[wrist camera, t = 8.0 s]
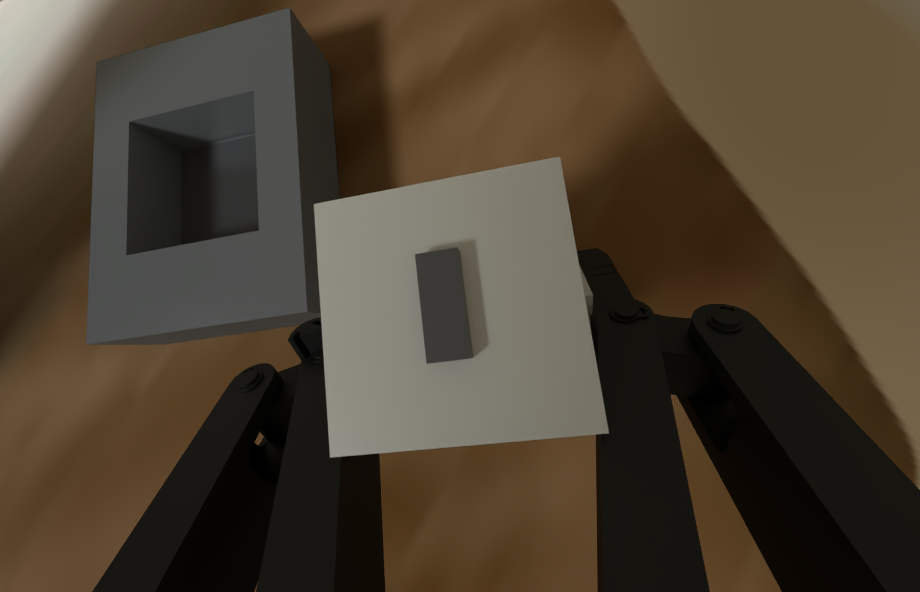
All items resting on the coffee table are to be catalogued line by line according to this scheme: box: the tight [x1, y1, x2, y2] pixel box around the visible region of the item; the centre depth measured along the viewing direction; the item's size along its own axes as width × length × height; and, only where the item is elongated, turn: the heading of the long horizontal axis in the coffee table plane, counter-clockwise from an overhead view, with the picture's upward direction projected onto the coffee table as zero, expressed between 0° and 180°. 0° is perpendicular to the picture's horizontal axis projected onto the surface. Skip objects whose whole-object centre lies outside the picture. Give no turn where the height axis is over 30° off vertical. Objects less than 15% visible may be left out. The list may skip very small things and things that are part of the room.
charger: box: [314, 157, 609, 458], centre depth 12 cm, size 5×5×12 cm
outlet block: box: [86, 8, 340, 345], centre depth 20 cm, size 16×12×4 cm
